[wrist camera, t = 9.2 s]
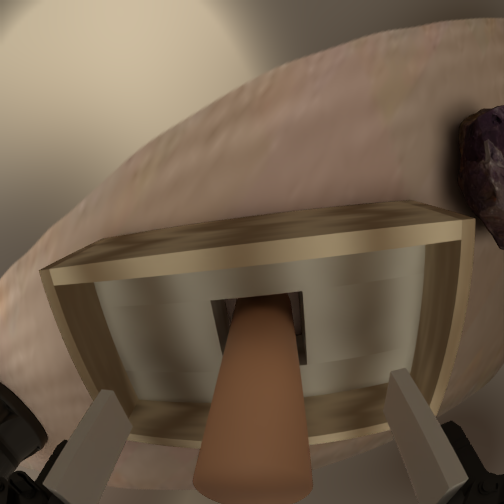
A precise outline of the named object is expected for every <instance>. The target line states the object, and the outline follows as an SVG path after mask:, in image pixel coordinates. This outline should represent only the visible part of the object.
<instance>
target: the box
mask: <svg viewBox="0 0 504 504" xmlns="http://www.w3.org/2000/svg"><path fill="white" fill-rule="evenodd" d="M474 242H475V218H472V217H469V216H466V215H462V214H459V213H456V212H452V211H449V210H445V209H442V208H438V207H435V206H431V205H427V204H423V203H420V202H416V201H412V200H406V201H393V202H381V203H369V204H358V205H347V206H337V207H327V208H318V209H308V210H299V211H290V212H282V213H273V214H265V215H257V216H249V217H241V218H234V219H226V220H219V221H212V222H204V223H197V224H191V225H184V226H177V227H171V228H164V229H158V230H151V231H145V232H139V233H133V234H127V235H121V236H115V237H110V238H104V239H101V240H99V241H97V242H95V243H93V244H90V245H88V246H86V247H84V248H82V249H80V250H78V251H76V252H74V253H72V254H70V255H68V256H66V257H64V258H62V259H60V260H58V261H56V262H54V263H52V264H50V265H48V266H46V267H45V268H43V269H41V270H39V273H40V276H41V280H42V283H43V286H44V289H45V292H46V295H47V298H48V301H49V304H50V307H51V310H52V313H53V315H54V318H55V321H56V323H57V326H58V328H59V331H60V333H61V336H62V338H63V340H64V343H65V345H66V347H67V350H68V352H69V354H70V356H71V358H72V360H73V363H74V365H75V367H76V369H77V371H78V373H79V375H80V377H81V379H82V381H83V383H84V385H85V386H86V388H87V390H88V392H89V394H90V396H91V398H92V399H93V401H94V400H95V398H96V397H97V395H98V394H99V392H100V391H101V389H103V390H112V391H114V393H115V395H116V397H117V399H118V401H119V402H120V404H121V406H122V408H123V410H124V412H125V414H126V415H127V417H128V419H129V421H130V422H131V424H132V426H133V427H132V429H131V432H130V434H129V436H128V438H127V440H129V441H135V442H141V443H148V444H156V445H164V446H173V447H184V448H198V449H200V448H201V443H202V439H203V435H204V431H205V427H206V423H207V419H208V415H209V411H210V407H211V403H212V399H213V394H214V390H215V386H216V382H217V378H218V374H219V370H220V366H221V362H222V358H223V354H224V350H225V346H226V342H227V338H228V334H229V330H230V325H229V320H228V315H227V310H226V304H225V299H232V298H243V297H253V296H263V295H272V294H281V293H290V292H298V291H299V302H300V314H301V328H302V335H296V343H297V350H298V358H299V365H300V373H301V380H302V388H303V396H304V405H305V413H306V422H307V431H308V440H309V445H313V444H321V443H328V442H334V441H340V440H346V439H351V438H356V437H361V436H366V435H370V434H375V433H379V432H383V431H387V430H390V427H389V425H388V422H387V420H386V418H385V415H384V413H383V408H384V403H385V399H386V394H387V388H388V383H389V377H390V371H394V370H398V369H401V368H406V369H407V371H408V372H409V374H410V376H411V377H412V379H413V380H414V382H415V384H416V385H417V387H418V389H419V390H420V392H421V393H422V395H423V397H424V398H425V400H426V402H427V403H428V405H429V407H430V409H431V410H432V412H433V414H434V415H435V416H436V415H437V412H438V410H439V407H440V405H441V402H442V399H443V396H444V393H445V391H446V388H447V385H448V381H449V378H450V375H451V372H452V368H453V365H454V361H455V358H456V354H457V350H458V346H459V342H460V338H461V334H462V329H463V325H464V320H465V315H466V309H467V303H468V297H469V291H470V283H471V276H472V267H473V256H474Z"/></svg>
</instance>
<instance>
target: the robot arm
mask: <svg viewBox="0 0 504 504" xmlns="http://www.w3.org/2000/svg"><path fill="white" fill-rule="evenodd" d="M383 413H384V415H385V418H386V420H387V422H388V425H389V427H390V430H391V432H392V434H393V437H394V439H395V442H396V444H397V447H398V449H399V452H400V454H401V457H402V459H403V462H404V465H405V467H406V470H407V472H408V475H409V478H410V480H411V483H412V485H413V488H414V491H415V494H416V497H417V500H418V503H419V504H504V474H503V475H496V474H493V473H489V472H488V471H487V470H486V469H485V468H484V466H483V464H482V463H481V461H480V459H479V457H478V456H477V454H476V452H475V450H474V449H473V447H472V445H470V442H469V440H468V438H466V435H465V433H464V432H463V430H462V428H461V427H460V426H459V425H457V424H456V423H454V422H453V421H450V422H447V423H444V424H442V425H440V424H439V422H438V421H437V419H436V417H435V415H434V414H433V412H432V410H431V409H430V407H429V405H428V403H427V402H426V400H425V398H424V397H423V395H422V393H421V392H420V390H419V389H418V387H417V385H416V384H415V382H414V380H413V379H412V377H411V376H410V374H409V372H408V371H407V369H406V368H401V369H398V370H394V371H390V377H389V383H388V388H387V394H386V399H385V403H384V408H383ZM132 427H133V426H132V424H131V422H130V421H129V419H128V417H127V415H126V414H125V412H124V410H123V408H122V406H121V404H120V402H119V401H118V399H117V397H116V395H115V393H114V391H112V390H103V389H101V391H100V392H99V394H98V395H97V397H96V398H95V400H94V401H93V403H92V404H91V406H90V408H89V409H88V411H87V412H86V414H85V415H84V417H83V418H82V420H81V421H80V423H79V425H78V426H77V428H76V429H75V431H74V432H73V434H72V436H71V437H70V439H69V440H68V441H67V440H64V441H62V442H61V443H60V444H59V445H57V447H56V448H55V450H54V452H53V455H51V456H50V458H49V460H48V461H47V463H46V464H45V466H44V468H43V469H42V471H41V473H40V474H39V476H38V478H37V479H36V481H35V482H34V481H33V480H32V479H31V478H30V477H29V476H28V475H27V474H26V473H25V472H23V471H16V472H14V471H15V470H16V468H17V467H18V465H19V464H20V462H22V461H23V460H25V459H26V458H28V457H30V456H31V455H33V454H35V453H36V452H38V451H40V450H41V449H42V448H43V447H44V445H45V444H46V443H47V440H48V439H47V435H46V433H45V431H44V429H43V427H42V426H41V424H40V423H39V422H38V420H37V419H36V418H35V416H34V415H33V414H32V413H31V412H30V411H29V409H28V408H27V407H26V406H25V405H24V404H23V403H22V402H21V401H20V400H19V399H18V398H17V397H16V396H15V395H14V394H13V393H12V392H11V391H10V390H9V389H7V388H6V387H5V386H3V385H2V384H1V383H0V504H98V503H99V501H100V499H101V496H102V494H103V491H104V489H105V487H106V485H107V482H108V480H109V478H110V476H111V473H112V471H113V469H114V467H115V464H116V462H117V460H118V458H119V455H120V453H121V451H122V449H123V447H124V445H125V442H126V440H127V438H128V436H129V434H130V432H131V429H132Z"/></svg>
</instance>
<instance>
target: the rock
mask: <svg viewBox="0 0 504 504" xmlns="http://www.w3.org/2000/svg"><path fill="white" fill-rule="evenodd" d="M459 144H460V152H461V154H462V156H461V167H460V171H459V175H458V183H459V186H460V188H461V190H462V193H463V194H464V196H465V199H466V201H467V203H468V205H469V206H470V207H471V209H472V211H473V212H474V213H475V214H476V216H478V217H479V218H480V219H481V220H482V221H483V223H484V224H485V226H486V228H487V229H488V231H489V232H490V233H491V234H492V236H493V238H494V240H495V242H496V243H497V245H498V247H499V248H500V249H502V250H504V105H502V106H496V107H495V108H492V109H481V110H480V111H478V112H477V113H476V114H473V115H470V116H469V117H467V118H466V119H465V120H464V121H463V122H462V123H461V125H460V127H459Z"/></svg>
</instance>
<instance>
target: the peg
mask: <svg viewBox="0 0 504 504" xmlns="http://www.w3.org/2000/svg"><path fill="white" fill-rule="evenodd" d="M193 485H194V486H195V488H196V489H197V490H198V491H199V492H200V493H201V494H202V495H204V496H205V497H207V498H209V499H211V500H214V501H216V502H218V503H221V504H293V503H295V502H298V501H299V500H302V499H303V498H305V497H306V496H307V495H309V493H310V492H311V491H312V488H313V480H312V469H311V459H310V449H309V440H308V431H307V422H306V413H305V405H304V396H303V388H302V380H301V373H300V365H299V358H298V350H297V343H296V336H295V329H294V322H293V315H292V308H291V302H290V299H289V296H288V295H287V293H281V294H272V295H263V296H253V297H243V298H237V301H236V305H235V309H234V313H233V318H232V322H231V326H230V330H229V334H228V338H227V342H226V346H225V350H224V354H223V358H222V362H221V366H220V370H219V374H218V378H217V382H216V386H215V390H214V394H213V399H212V403H211V407H210V411H209V415H208V419H207V423H206V427H205V431H204V435H203V439H202V443H201V448H200V452H199V456H198V460H197V464H196V468H195V472H194V476H193Z"/></svg>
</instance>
